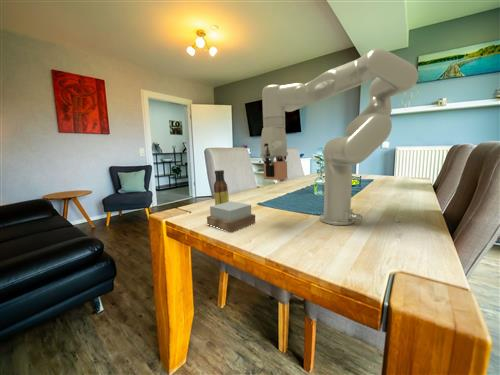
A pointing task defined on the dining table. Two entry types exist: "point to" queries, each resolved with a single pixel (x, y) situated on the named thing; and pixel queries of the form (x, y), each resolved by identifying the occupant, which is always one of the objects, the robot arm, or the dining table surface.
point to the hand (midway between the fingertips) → (275, 175)
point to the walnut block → (231, 223)
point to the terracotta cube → (277, 170)
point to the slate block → (230, 211)
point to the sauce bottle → (220, 188)
